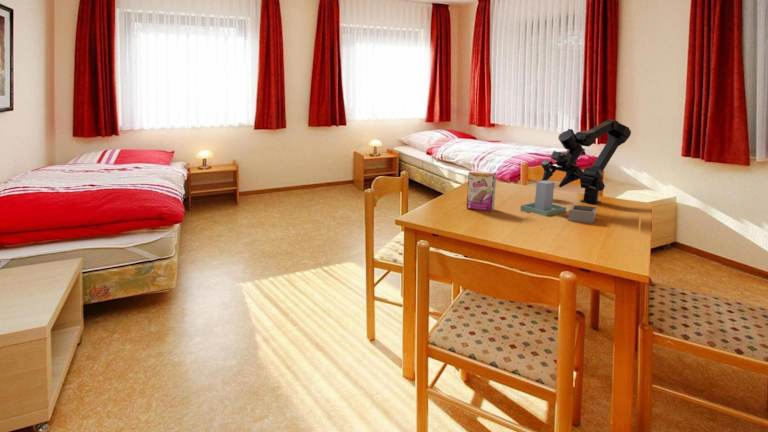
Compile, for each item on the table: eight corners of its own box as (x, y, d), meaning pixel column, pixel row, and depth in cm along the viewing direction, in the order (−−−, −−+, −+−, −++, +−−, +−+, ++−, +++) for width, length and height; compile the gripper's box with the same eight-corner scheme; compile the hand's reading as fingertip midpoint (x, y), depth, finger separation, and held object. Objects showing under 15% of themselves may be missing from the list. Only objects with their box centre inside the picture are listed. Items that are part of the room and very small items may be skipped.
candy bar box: (466, 209, 203) (467, 172, 198) (469, 206, 207) (470, 170, 203) (491, 211, 198) (494, 174, 194) (494, 209, 203) (496, 172, 198)
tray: (540, 206, 207) (540, 201, 206) (565, 212, 196) (566, 207, 196) (520, 210, 200) (520, 205, 199) (545, 217, 190) (546, 212, 189)
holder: (571, 216, 191) (572, 204, 190) (594, 219, 187) (596, 207, 185) (568, 222, 183) (569, 209, 182) (592, 225, 179) (594, 212, 178)
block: (542, 207, 201) (545, 180, 198) (551, 210, 197) (554, 182, 194) (534, 209, 199) (536, 181, 196) (543, 211, 195) (546, 183, 191)
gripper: (545, 141, 202) (525, 169, 200) (582, 146, 187) (560, 176, 185) (556, 158, 208) (537, 185, 206) (592, 164, 193) (572, 193, 191)
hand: (550, 184), depth 197 cm, fingers open, 9 cm apart
